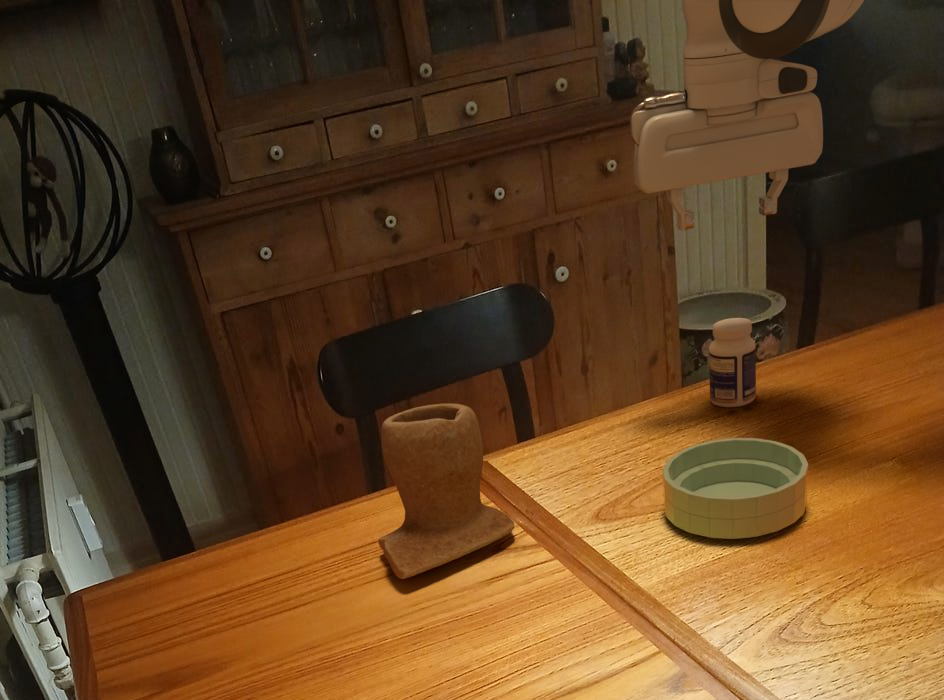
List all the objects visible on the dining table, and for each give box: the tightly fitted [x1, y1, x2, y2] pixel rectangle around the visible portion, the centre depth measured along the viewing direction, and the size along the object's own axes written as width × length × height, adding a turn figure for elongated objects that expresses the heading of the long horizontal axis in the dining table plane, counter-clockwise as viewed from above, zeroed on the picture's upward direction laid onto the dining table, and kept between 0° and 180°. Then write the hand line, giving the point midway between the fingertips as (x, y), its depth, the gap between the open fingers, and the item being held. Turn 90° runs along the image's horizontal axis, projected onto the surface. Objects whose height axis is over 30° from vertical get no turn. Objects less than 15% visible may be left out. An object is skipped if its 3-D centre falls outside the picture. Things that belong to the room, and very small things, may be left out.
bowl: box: [662, 437, 809, 540], centre depth 102 cm, size 14×14×5 cm
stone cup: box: [377, 403, 515, 580], centre depth 102 cm, size 15×12×15 cm
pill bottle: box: [708, 317, 757, 408], centre depth 124 cm, size 6×6×10 cm
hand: (726, 221), depth 111 cm, fingers open, 8 cm apart
